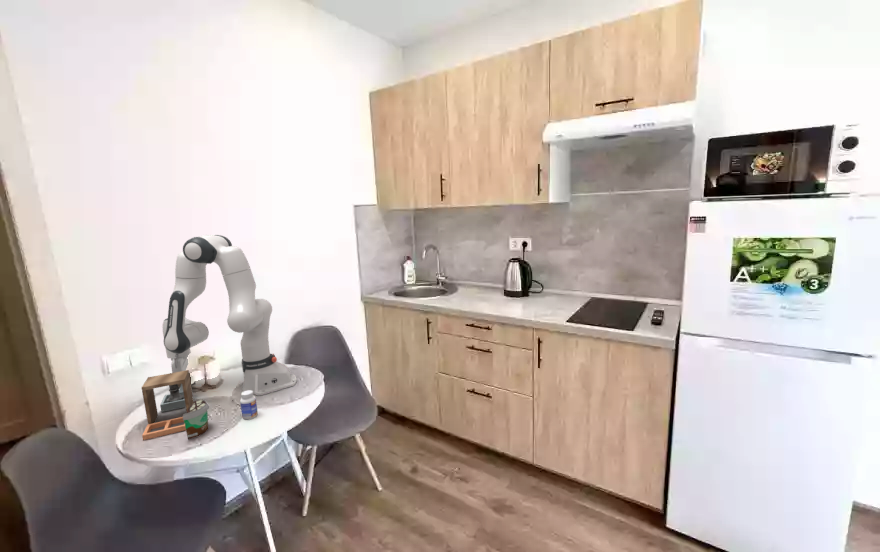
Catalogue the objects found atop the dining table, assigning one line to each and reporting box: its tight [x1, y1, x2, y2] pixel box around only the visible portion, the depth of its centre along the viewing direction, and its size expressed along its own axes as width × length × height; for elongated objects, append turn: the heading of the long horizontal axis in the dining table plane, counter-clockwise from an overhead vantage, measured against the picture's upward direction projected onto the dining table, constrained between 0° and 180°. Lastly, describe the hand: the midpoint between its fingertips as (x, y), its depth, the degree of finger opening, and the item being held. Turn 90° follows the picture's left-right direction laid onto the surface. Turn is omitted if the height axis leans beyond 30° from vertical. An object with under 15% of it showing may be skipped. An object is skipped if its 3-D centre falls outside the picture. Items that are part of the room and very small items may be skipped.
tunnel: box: [141, 369, 194, 425], centre depth 147 cm, size 13×10×16 cm
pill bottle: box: [239, 390, 258, 420], centre depth 146 cm, size 5×5×10 cm
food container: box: [182, 398, 210, 440], centre depth 138 cm, size 12×6×10 cm, turn 17°
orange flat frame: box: [141, 416, 186, 441], centre depth 140 cm, size 13×8×2 cm, turn 116°
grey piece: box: [160, 372, 194, 413], centre depth 165 cm, size 10×26×5 cm, turn 26°
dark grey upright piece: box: [167, 384, 184, 403], centre depth 156 cm, size 6×6×12 cm
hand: (183, 380), depth 173 cm, fingers closed
